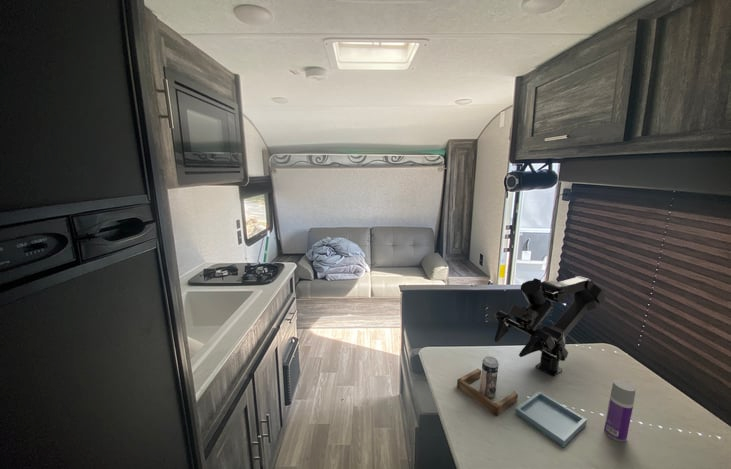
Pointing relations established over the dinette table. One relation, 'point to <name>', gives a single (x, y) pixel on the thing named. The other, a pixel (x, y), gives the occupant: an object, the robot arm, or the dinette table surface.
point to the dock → (482, 399)
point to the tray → (551, 418)
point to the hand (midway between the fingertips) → (506, 348)
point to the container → (619, 410)
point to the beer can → (489, 377)
